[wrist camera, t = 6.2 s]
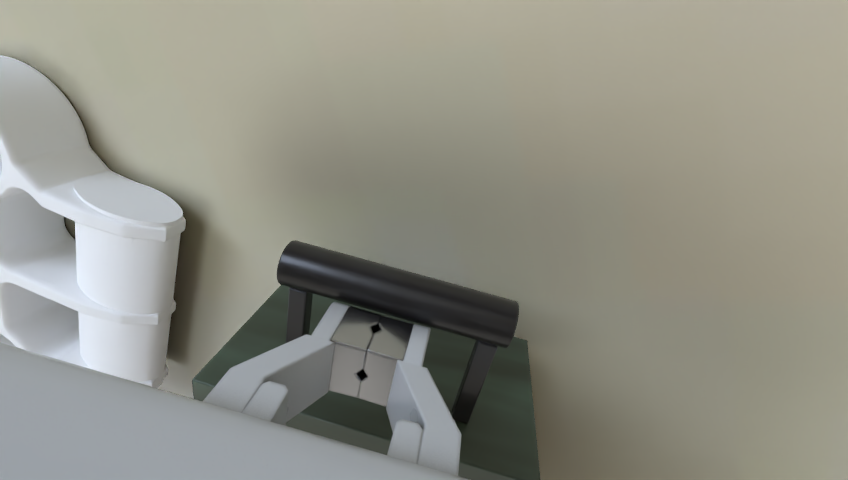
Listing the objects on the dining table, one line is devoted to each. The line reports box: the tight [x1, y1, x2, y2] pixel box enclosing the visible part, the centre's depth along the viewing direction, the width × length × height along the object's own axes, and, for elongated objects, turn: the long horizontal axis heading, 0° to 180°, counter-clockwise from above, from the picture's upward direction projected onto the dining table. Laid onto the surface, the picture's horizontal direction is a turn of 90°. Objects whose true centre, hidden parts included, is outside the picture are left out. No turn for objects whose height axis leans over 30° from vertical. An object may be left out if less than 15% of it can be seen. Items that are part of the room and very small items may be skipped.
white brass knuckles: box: [0, 55, 186, 388], centre depth 20 cm, size 3×18×15 cm
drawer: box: [192, 240, 540, 480], centre depth 18 cm, size 21×11×7 cm, turn 168°
